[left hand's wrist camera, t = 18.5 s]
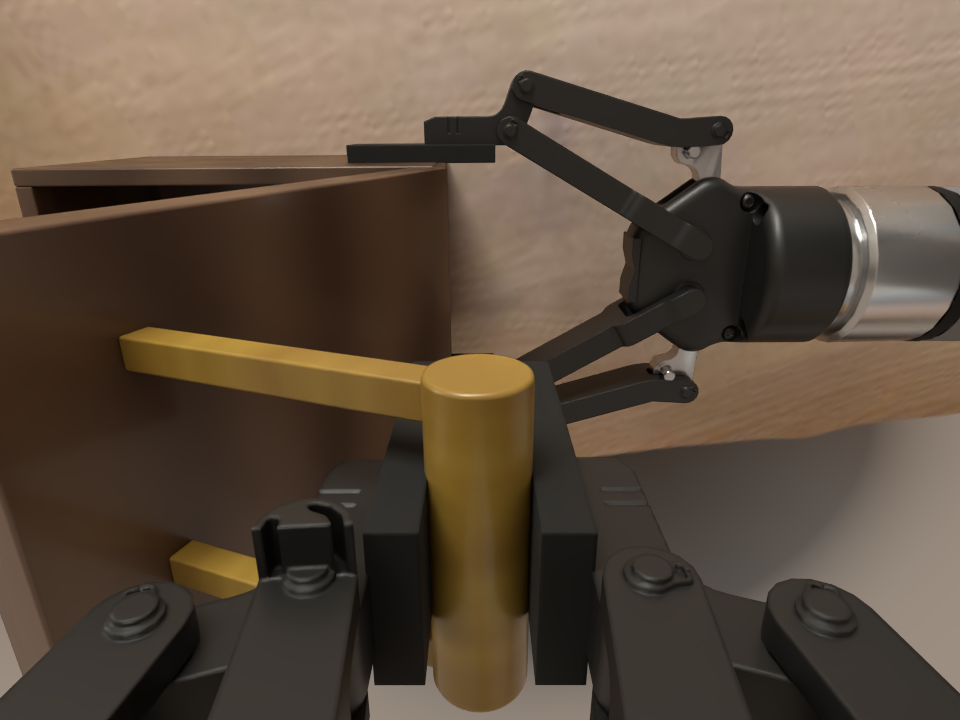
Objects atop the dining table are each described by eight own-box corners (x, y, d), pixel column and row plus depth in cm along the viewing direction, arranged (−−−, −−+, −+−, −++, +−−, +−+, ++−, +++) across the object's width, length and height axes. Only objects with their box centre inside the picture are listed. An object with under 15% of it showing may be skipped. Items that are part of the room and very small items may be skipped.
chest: (178, 324, 38) (70, 396, 28) (146, 156, 35) (9, 169, 25) (450, 322, 38) (441, 393, 28) (445, 154, 35) (433, 165, 25)
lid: (43, 736, 12) (463, 941, 9) (-140, 237, 9) (446, 292, 6) (426, 397, 28) (634, 431, 25) (417, 166, 24) (658, 170, 21)
